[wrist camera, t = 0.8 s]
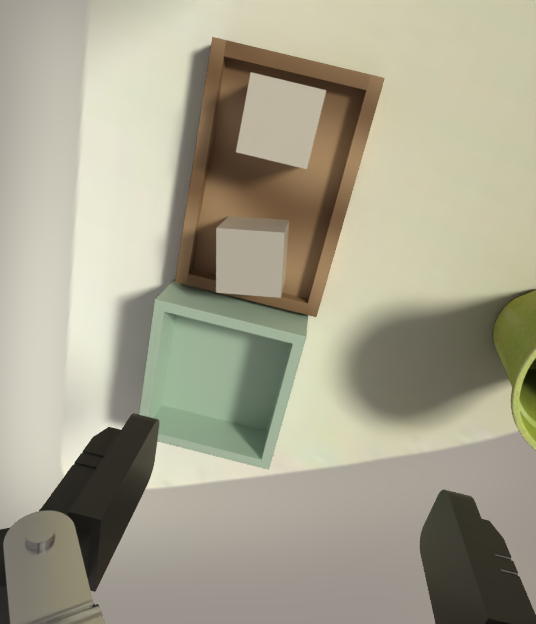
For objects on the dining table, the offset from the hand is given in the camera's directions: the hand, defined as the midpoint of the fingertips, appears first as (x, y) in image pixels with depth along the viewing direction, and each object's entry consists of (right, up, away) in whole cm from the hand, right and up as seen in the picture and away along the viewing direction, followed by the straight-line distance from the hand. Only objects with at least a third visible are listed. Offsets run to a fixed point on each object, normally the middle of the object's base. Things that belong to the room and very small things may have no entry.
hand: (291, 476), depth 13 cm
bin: (-4, +1, +23) cm, 23 cm away
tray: (0, +13, +17) cm, 22 cm away
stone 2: (-1, +9, +18) cm, 21 cm away
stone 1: (0, +16, +15) cm, 22 cm away
